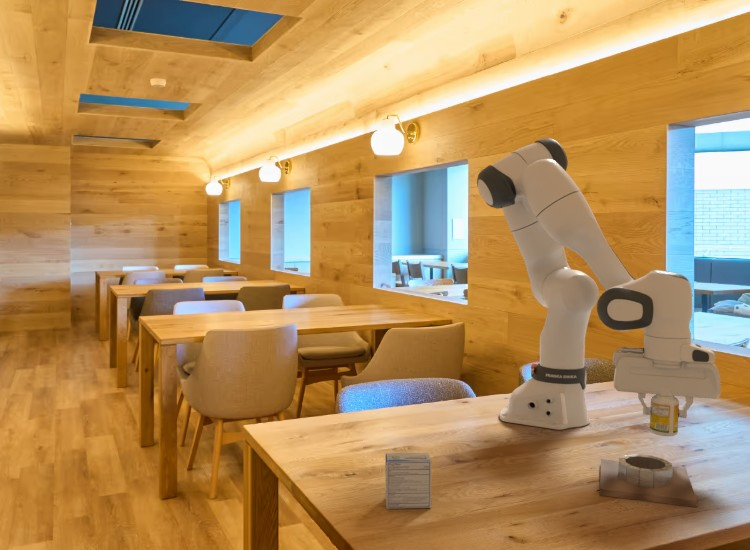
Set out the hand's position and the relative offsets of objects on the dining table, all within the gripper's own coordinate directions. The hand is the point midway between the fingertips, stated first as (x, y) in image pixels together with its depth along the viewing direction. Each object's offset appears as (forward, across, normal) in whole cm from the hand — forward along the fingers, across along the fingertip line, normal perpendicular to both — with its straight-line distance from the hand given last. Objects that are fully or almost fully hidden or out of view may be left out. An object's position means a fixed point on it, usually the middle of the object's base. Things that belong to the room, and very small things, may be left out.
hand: (664, 415), depth 137 cm
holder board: (+10, -4, -13) cm, 17 cm away
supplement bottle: (+4, 0, 0) cm, 4 cm away
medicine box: (+11, -45, -37) cm, 59 cm away
